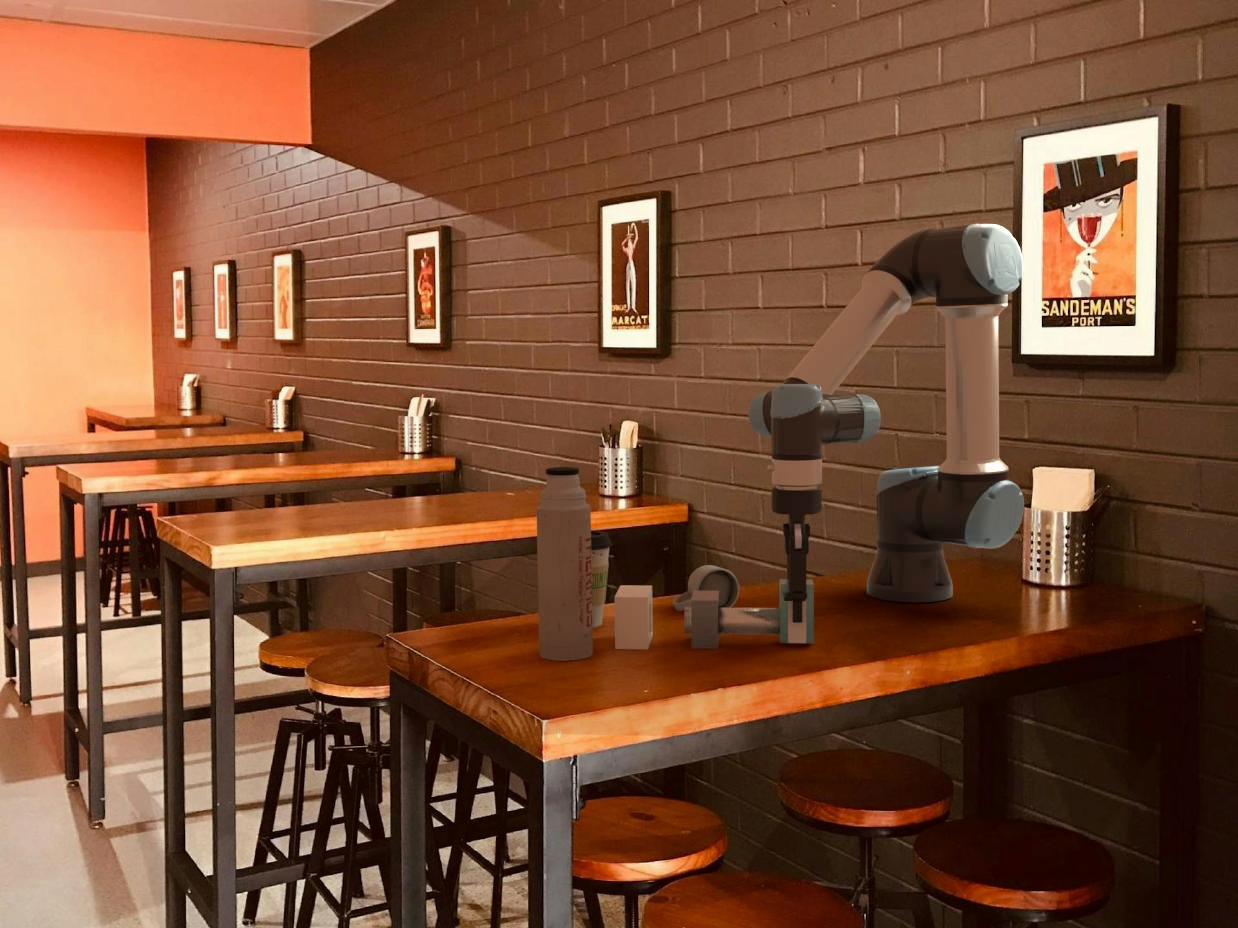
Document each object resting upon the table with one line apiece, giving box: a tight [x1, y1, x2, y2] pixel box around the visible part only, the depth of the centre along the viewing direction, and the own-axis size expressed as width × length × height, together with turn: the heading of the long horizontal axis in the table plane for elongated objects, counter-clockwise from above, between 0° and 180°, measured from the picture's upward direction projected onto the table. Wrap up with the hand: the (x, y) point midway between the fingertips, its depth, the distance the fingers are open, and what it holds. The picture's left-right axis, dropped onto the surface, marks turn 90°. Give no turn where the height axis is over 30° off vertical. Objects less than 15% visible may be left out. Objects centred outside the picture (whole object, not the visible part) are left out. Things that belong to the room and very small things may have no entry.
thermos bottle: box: [536, 466, 594, 662], centre depth 188 cm, size 8×8×28 cm
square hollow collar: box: [690, 591, 720, 650], centre depth 195 cm, size 4×7×7 cm, turn 174°
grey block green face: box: [683, 578, 815, 644], centre depth 194 cm, size 20×4×9 cm, turn 84°
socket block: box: [614, 584, 654, 650], centre depth 196 cm, size 5×9×8 cm, turn 174°
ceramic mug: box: [672, 564, 740, 612], centre depth 220 cm, size 11×8×8 cm
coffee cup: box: [591, 529, 613, 629], centre depth 209 cm, size 10×10×15 cm
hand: (796, 638), depth 194 cm, fingers closed on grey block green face, 4 cm apart
